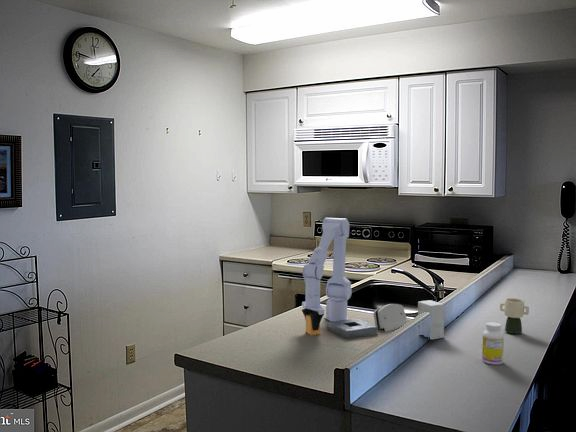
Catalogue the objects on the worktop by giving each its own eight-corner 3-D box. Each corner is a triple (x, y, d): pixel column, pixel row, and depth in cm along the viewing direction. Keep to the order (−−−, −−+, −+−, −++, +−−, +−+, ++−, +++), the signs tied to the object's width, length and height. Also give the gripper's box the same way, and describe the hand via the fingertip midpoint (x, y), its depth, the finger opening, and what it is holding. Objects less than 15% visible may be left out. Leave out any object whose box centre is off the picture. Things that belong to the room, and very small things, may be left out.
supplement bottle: (486, 357, 188) (487, 320, 187) (506, 361, 184) (507, 323, 183) (479, 362, 183) (480, 324, 182) (499, 366, 179) (500, 327, 178)
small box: (444, 337, 210) (444, 304, 209) (430, 339, 208) (431, 305, 207) (429, 332, 218) (430, 299, 217) (417, 334, 215) (417, 301, 214)
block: (305, 332, 217) (305, 315, 216) (314, 331, 219) (314, 314, 218) (310, 335, 213) (310, 317, 213) (319, 334, 215) (319, 316, 215)
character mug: (530, 333, 216) (531, 300, 215) (525, 337, 211) (526, 303, 210) (502, 328, 223) (503, 296, 222) (496, 332, 217) (497, 299, 216)
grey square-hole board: (327, 329, 221) (327, 322, 221) (357, 325, 228) (357, 318, 227) (346, 338, 209) (346, 331, 209) (377, 334, 215) (377, 326, 215)
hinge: (385, 331, 218) (378, 306, 220) (376, 333, 222) (370, 308, 223) (411, 324, 229) (404, 300, 231) (402, 325, 232) (396, 302, 234)
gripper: (295, 291, 220) (295, 325, 221) (312, 299, 207) (312, 334, 208) (310, 289, 223) (310, 323, 224) (329, 297, 210) (328, 332, 211)
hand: (312, 328), depth 216 cm, fingers closed on block, 4 cm apart
